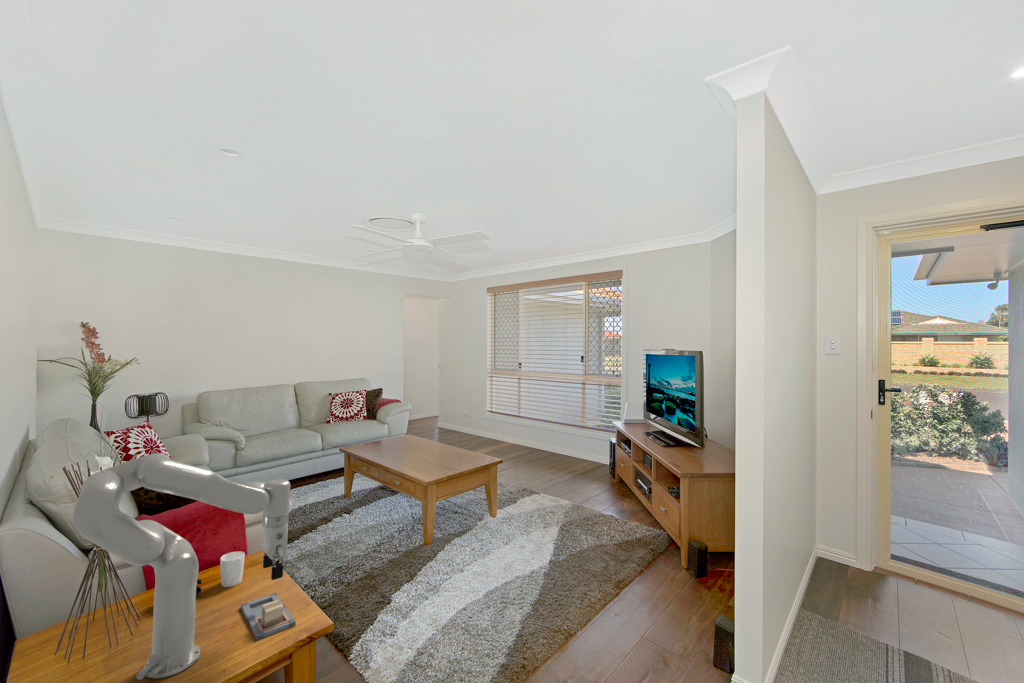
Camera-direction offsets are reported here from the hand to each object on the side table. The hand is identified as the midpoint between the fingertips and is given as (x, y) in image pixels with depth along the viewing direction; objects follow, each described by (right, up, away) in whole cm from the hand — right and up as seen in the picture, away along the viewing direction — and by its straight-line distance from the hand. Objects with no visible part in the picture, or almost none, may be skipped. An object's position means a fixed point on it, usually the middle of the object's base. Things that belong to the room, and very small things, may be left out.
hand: (272, 572), depth 140 cm
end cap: (-40, -17, +13) cm, 45 cm away
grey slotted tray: (-4, -17, +4) cm, 18 cm away
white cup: (-29, -17, +25) cm, 42 cm away
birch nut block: (0, -17, 0) cm, 17 cm away
